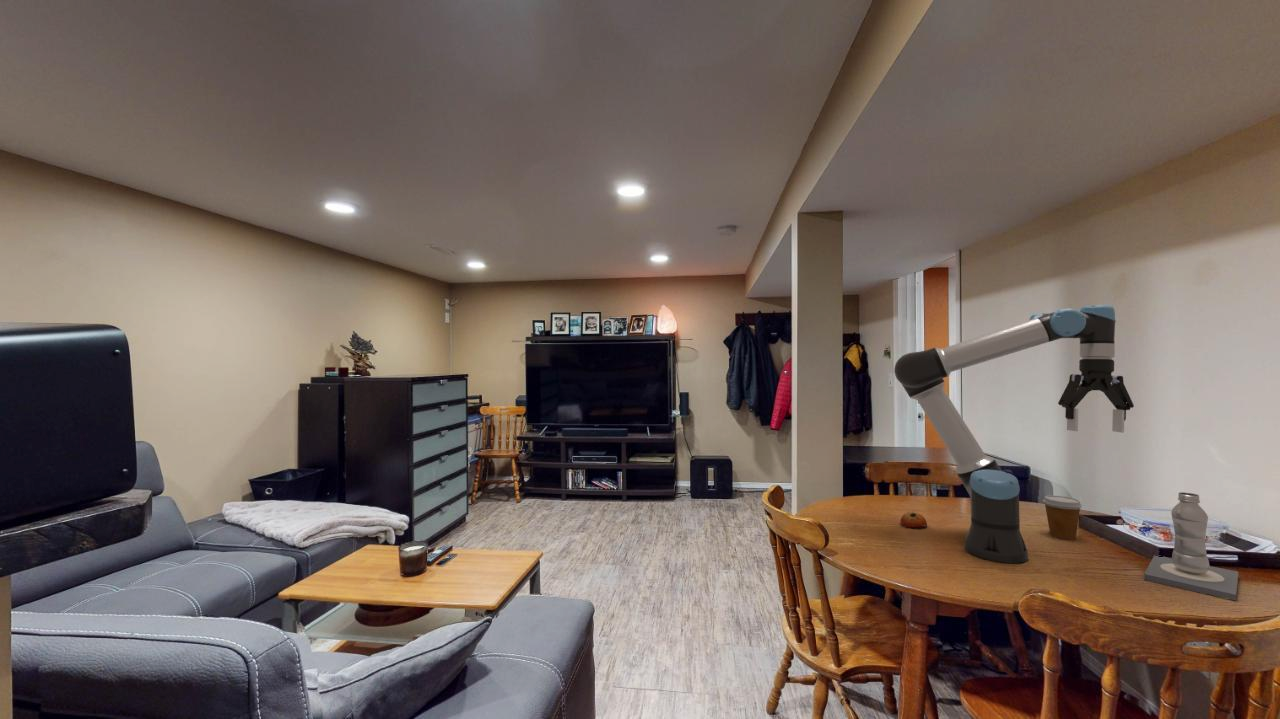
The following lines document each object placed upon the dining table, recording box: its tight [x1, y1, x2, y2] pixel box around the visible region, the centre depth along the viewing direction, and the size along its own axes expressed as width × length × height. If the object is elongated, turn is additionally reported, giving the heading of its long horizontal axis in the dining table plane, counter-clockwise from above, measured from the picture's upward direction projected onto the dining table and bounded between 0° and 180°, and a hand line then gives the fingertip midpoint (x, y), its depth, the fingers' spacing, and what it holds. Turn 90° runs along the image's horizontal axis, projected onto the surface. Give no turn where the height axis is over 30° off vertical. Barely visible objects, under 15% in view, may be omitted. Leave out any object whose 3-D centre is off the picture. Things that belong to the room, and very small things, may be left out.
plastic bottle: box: [1170, 491, 1210, 574], centre depth 127 cm, size 6×7×20 cm
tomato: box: [900, 511, 928, 529], centre depth 171 cm, size 8×7×7 cm
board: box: [1143, 554, 1239, 602], centre depth 127 cm, size 20×15×2 cm
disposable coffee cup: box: [1042, 495, 1083, 540], centre depth 159 cm, size 10×10×12 cm
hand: (1095, 431), depth 144 cm, fingers open, 13 cm apart
